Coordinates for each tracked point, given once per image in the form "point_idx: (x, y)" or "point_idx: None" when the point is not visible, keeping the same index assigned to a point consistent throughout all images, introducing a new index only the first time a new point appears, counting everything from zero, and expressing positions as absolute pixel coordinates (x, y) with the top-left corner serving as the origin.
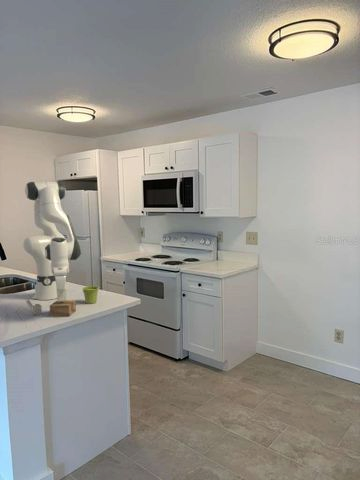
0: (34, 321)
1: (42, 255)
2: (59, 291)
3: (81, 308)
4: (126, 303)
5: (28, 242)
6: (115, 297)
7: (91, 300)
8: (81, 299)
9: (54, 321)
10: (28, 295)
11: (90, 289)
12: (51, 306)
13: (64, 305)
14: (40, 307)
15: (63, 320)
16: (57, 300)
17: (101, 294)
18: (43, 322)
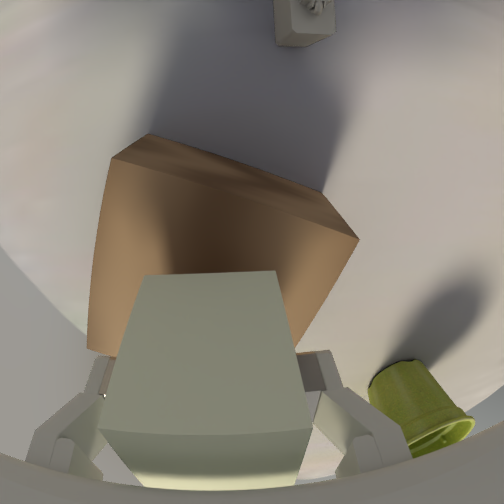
0: (55, 27)
1: None
2: (46, 425)
3: (299, 350)
4: None
5: None
6: None
7: (371, 402)
8: (481, 328)
9: (21, 189)
10: None
11: (453, 424)
12: (110, 178)
13: (92, 318)
14: (287, 26)
15: (36, 249)
16: (144, 282)
17: (478, 388)
18: (13, 109)
